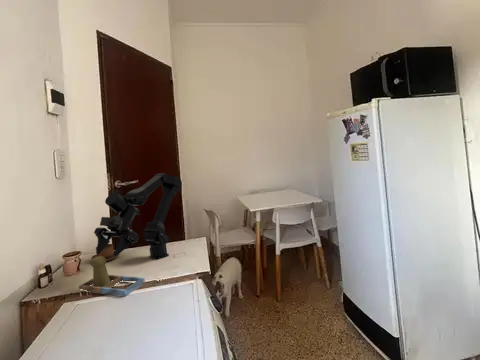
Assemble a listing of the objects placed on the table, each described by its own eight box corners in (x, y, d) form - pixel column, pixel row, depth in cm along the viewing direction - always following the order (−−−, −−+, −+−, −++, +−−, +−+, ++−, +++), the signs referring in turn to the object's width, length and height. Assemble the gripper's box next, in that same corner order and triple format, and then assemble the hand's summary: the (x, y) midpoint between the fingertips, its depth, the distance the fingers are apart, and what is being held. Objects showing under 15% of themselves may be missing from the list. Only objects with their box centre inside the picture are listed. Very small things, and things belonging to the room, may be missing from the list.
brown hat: (93, 257, 159) (91, 245, 158) (120, 253, 163) (118, 240, 162) (90, 266, 148) (88, 252, 147) (119, 260, 151) (117, 247, 151)
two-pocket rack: (79, 291, 121) (78, 285, 121) (101, 279, 131) (101, 274, 131) (125, 296, 114) (124, 290, 113) (145, 283, 123) (144, 277, 123)
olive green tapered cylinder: (104, 289, 121) (100, 260, 119) (89, 289, 122) (85, 260, 121) (114, 282, 127) (110, 254, 125) (99, 282, 128) (95, 254, 126)
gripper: (94, 207, 133) (73, 243, 125) (129, 208, 124) (109, 246, 116) (113, 222, 141) (94, 256, 132) (146, 223, 132) (129, 260, 124)
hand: (105, 254), depth 126 cm, fingers open, 9 cm apart
